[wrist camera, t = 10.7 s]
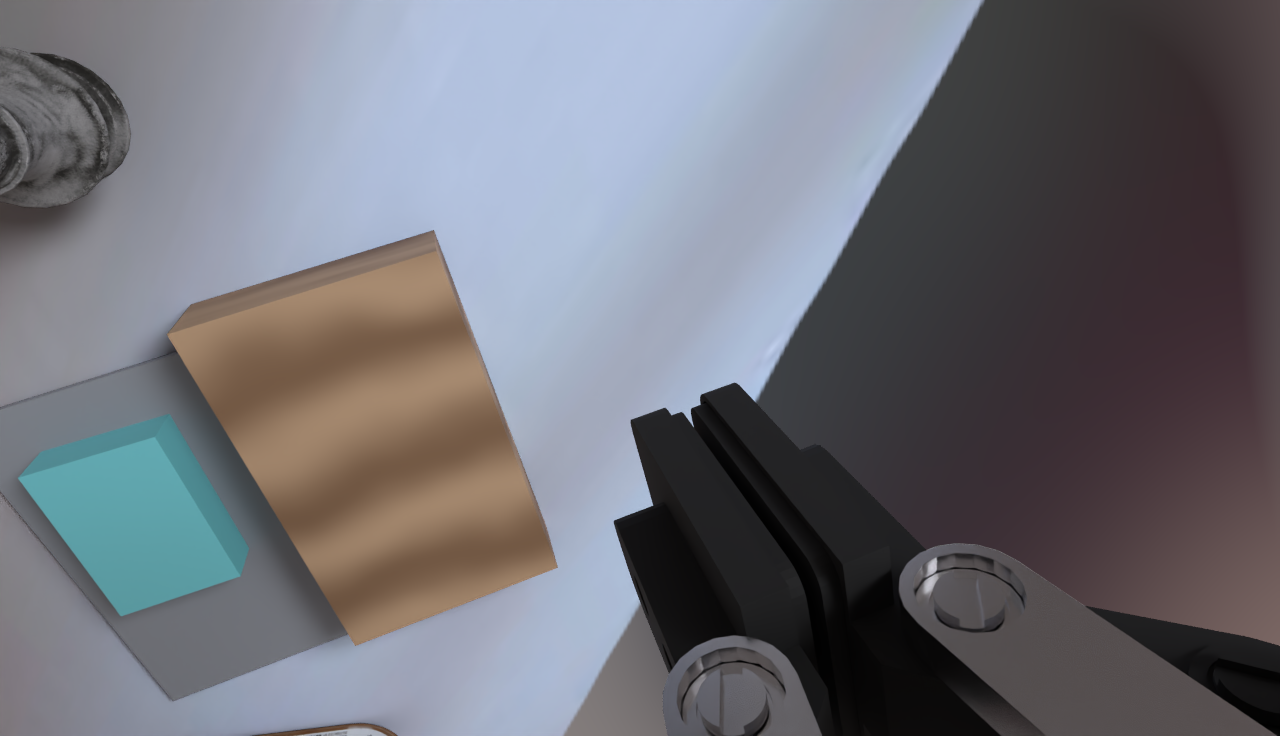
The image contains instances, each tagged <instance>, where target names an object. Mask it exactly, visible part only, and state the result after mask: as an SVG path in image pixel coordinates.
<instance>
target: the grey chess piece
mask: <svg viewBox="0 0 1280 736" xmlns="http://www.w3.org/2000/svg"><path fill="white" fill-rule="evenodd" d="M130 137H131V131H130V125H129V120H128V116H127V114H126V112H125V109H124V107H123V105H122V103H121V101H120V99H119V98H118V97H117V95H116V94H115V93H114V91H113V90H112V89H111V88H110V86H109V85H108V84H107V83H106V82H104V81H103V80H102V79H101V78H100V77H99V76H97V75H96V74H95V73H94V72H93V71H91V70H89V69H87V68H86V67H84V66H82V65H80V64H78V63H77V62H75V61H73V60H69V59H66V58H63V57H60V56H57V55H53V54H42V53H27V52H24V51H20V50H17V49H14V48H6V47H0V201H1V202H5V203H9V204H13V205H17V206H21V207H36V208H49V207H54V206H59V205H64V204H69V203H71V202H73V201H74V200H76V199H78V198H80V197H82V196H84V195H86V194H88V193H89V192H90V191H91V190H92V189H93V188H94V187H95V186H96V185H97V184H98V183H99V182H100V181H101V179H102V178H104V177H106V176H108V175H110V174H111V173H112V172H113V171H114V170H116V169H117V168H118V167H119V166H120V165H121V164H122V162H123V160H124V158H125V156H126V154H127V152H128V150H129V145H130Z"/></svg>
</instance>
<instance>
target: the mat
mask: <svg viewBox="0 0 1280 736" xmlns="http://www.w3.org/2000/svg"><path fill="white" fill-rule="evenodd" d="M167 414H170V415H171V417H172V419H173V421H174V422H175V424H176V426H177V427H178V429H179V431H180V432H181V434H182V436H183V437H184V439H185V441H186V442H187V444H188V446H189V448H190V449H191V451H192V453H193V454H194V456H195V458H196V459H197V461H198V463H199V464H200V466H201V468H202V469H203V471H204V473H205V475H206V476H207V478H208V480H209V481H210V483H211V485H212V486H213V488H214V490H215V491H216V493H217V495H218V496H219V498H220V500H221V501H222V503H223V505H224V507H225V508H226V510H227V512H228V513H229V515H230V517H231V518H232V520H233V522H234V523H235V525H236V527H237V528H238V530H239V532H240V534H241V535H242V537H243V539H244V540H245V542H246V544H247V545H248V547H249V551H248V554H247V557H246V560H245V564H244V567H243V570H242V573H241V576H240V577H237V578H234V579H231V580H228V581H225V582H222V583H219V584H216V585H213V586H210V587H207V588H204V589H201V590H198V591H195V592H192V593H189V594H186V595H183V596H180V597H178V598H175V599H172V600H169V601H166V602H163V603H160V604H157V605H154V606H151V607H148V608H145V609H142V610H139V611H136V612H133V613H130V614H127V615H124V616H120V615H119V613H118V612H117V610H116V609H115V608H114V606H113V605H112V604H111V602H110V601H109V600H108V598H107V597H106V596H105V594H104V593H103V592H102V590H101V589H100V588H99V586H98V585H97V584H96V582H95V581H94V580H93V578H92V577H91V576H90V574H89V573H88V572H87V570H86V569H85V568H84V566H83V565H82V564H81V562H80V561H79V560H78V558H77V557H76V555H75V554H74V553H73V551H72V550H71V549H70V547H69V546H68V545H67V543H66V542H65V541H64V539H63V538H62V537H61V535H60V534H59V533H58V531H57V530H56V529H55V527H54V526H53V525H52V523H51V522H50V521H49V519H48V518H47V517H46V515H45V514H44V513H43V511H42V510H41V509H40V507H39V506H38V505H37V503H36V502H35V501H34V499H33V498H32V496H31V495H30V494H29V492H28V491H27V490H26V488H25V487H24V486H23V484H22V483H21V482H20V480H19V479H18V477H19V476H20V475H21V474H22V473H23V472H24V470H25V469H26V468H27V467H28V466H29V465H30V464H31V462H32V461H33V460H34V459H35V458H36V457H37V456H38V455H39V453H40V452H42V451H45V450H49V449H52V448H55V447H59V446H62V445H65V444H69V443H72V442H76V441H79V440H82V439H86V438H89V437H93V436H96V435H99V434H103V433H106V432H109V431H113V430H116V429H120V428H123V427H126V426H130V425H133V424H136V423H140V422H143V421H147V420H150V419H153V418H157V417H160V416H164V415H167ZM0 492H1V493H2V494H3V495H4V496H5V498H6V499H7V500H8V501H9V502H10V504H11V505H12V506H13V507H14V509H15V510H16V511H17V512H18V513H19V515H20V516H21V517H22V518H23V519H24V521H25V522H26V523H27V524H28V526H29V527H30V528H31V529H32V530H33V532H34V533H35V534H36V535H37V536H38V538H39V539H40V540H41V541H42V543H43V544H44V545H45V546H46V547H47V549H48V550H49V551H50V552H51V553H52V555H53V556H54V557H55V558H56V560H57V561H58V562H59V563H60V564H61V566H62V567H63V568H64V569H65V570H66V572H67V573H68V574H69V575H70V577H71V578H72V579H73V580H74V581H75V583H76V584H77V585H78V586H79V588H80V589H81V590H82V591H83V592H84V594H85V595H86V596H87V597H88V598H89V600H90V601H91V602H92V603H93V605H94V606H95V607H96V608H97V609H98V611H99V612H100V613H101V614H102V615H103V617H104V618H105V619H106V620H107V622H108V623H109V624H110V625H111V626H112V628H113V629H114V630H115V631H116V632H117V634H118V635H119V636H120V637H121V639H122V640H123V641H124V642H125V643H126V645H127V646H128V647H129V648H130V649H131V651H132V652H133V653H134V654H135V656H136V657H137V658H138V659H139V660H140V662H141V663H142V664H143V665H144V666H145V668H146V669H147V670H148V671H149V673H150V674H151V675H152V676H153V677H154V679H155V680H156V681H157V682H158V684H159V685H160V686H161V687H162V688H163V690H164V691H165V692H166V693H167V694H168V696H169V697H170V698H171V699H172V701H175V700H177V699H180V698H183V697H185V696H188V695H190V694H193V693H196V692H198V691H201V690H203V689H206V688H209V687H211V686H214V685H217V684H219V683H222V682H224V681H227V680H230V679H232V678H235V677H237V676H240V675H243V674H245V673H248V672H250V671H253V670H256V669H258V668H261V667H263V666H266V665H269V664H271V663H274V662H276V661H279V660H282V659H284V658H287V657H290V656H292V655H295V654H297V653H300V652H303V651H305V650H308V649H310V648H313V647H316V646H318V645H321V644H323V643H326V642H329V641H331V640H334V639H336V638H339V637H342V636H344V635H347V634H348V633H347V631H346V630H345V628H344V626H343V625H342V623H341V621H340V620H339V618H338V616H337V615H336V613H335V611H334V610H333V608H332V606H331V605H330V603H329V601H328V600H327V598H326V597H325V595H324V593H323V592H322V590H321V588H320V587H319V585H318V583H317V582H316V580H315V578H314V577H313V575H312V573H311V572H310V570H309V568H308V567H307V565H306V563H305V562H304V560H303V559H302V557H301V555H300V554H299V552H298V550H297V549H296V547H295V545H294V544H293V542H292V540H291V539H290V537H289V535H288V534H287V532H286V530H285V529H284V527H283V525H282V524H281V522H280V521H279V519H278V517H277V516H276V514H275V512H274V511H273V509H272V507H271V506H270V504H269V502H268V501H267V499H266V497H265V496H264V494H263V492H262V491H261V489H260V487H259V486H258V484H257V483H256V481H255V479H254V478H253V476H252V474H251V473H250V471H249V469H248V468H247V466H246V464H245V463H244V461H243V459H242V458H241V456H240V454H239V453H238V451H237V449H236V448H235V446H234V445H233V443H232V441H231V440H230V438H229V436H228V435H227V433H226V431H225V430H224V428H223V426H222V425H221V423H220V421H219V420H218V418H217V416H216V415H215V413H214V411H213V410H212V408H211V407H210V405H209V403H208V402H207V400H206V398H205V397H204V395H203V393H202V392H201V390H200V388H199V387H198V385H197V383H196V382H195V380H194V378H193V377H192V375H191V373H190V372H189V370H188V369H187V367H186V365H185V364H184V362H183V360H182V359H181V357H180V355H179V354H178V352H174V353H171V354H168V355H165V356H162V357H158V358H155V359H152V360H149V361H146V362H143V363H139V364H136V365H133V366H130V367H127V368H123V369H120V370H117V371H114V372H111V373H108V374H104V375H101V376H98V377H95V378H92V379H88V380H85V381H82V382H79V383H76V384H73V385H69V386H66V387H63V388H60V389H57V390H54V391H50V392H47V393H44V394H41V395H38V396H34V397H31V398H28V399H25V400H22V401H19V402H15V403H12V404H9V405H6V406H3V407H0Z"/></svg>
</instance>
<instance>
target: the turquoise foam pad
mask: <svg viewBox="0 0 1280 736" xmlns="http://www.w3.org/2000/svg"><path fill="white" fill-rule="evenodd" d="M18 479H19V480H20V482H21V483H22V484H23V486H24V487H25V488H26V490H27V491H28V492H29V494H30V495H31V496H32V498H33V499H34V501H35V502H36V503H37V505H38V506H39V507H40V509H41V510H42V511H43V513H44V514H45V515H46V517H47V518H48V519H49V521H50V522H51V523H52V525H53V526H54V527H55V529H56V530H57V531H58V533H59V534H60V535H61V537H62V538H63V539H64V541H65V542H66V543H67V545H68V546H69V547H70V549H71V550H72V551H73V553H74V554H75V555H76V557H77V558H78V560H79V561H80V562H81V564H82V565H83V566H84V568H85V569H86V570H87V572H88V573H89V574H90V576H91V577H92V578H93V580H94V581H95V582H96V584H97V585H98V586H99V588H100V589H101V590H102V592H103V593H104V594H105V596H106V597H107V598H108V600H109V601H110V602H111V604H112V605H113V606H114V608H115V609H116V610H117V612H118V613H119V615H120V616H124V615H127V614H130V613H133V612H136V611H139V610H142V609H145V608H148V607H151V606H154V605H157V604H160V603H163V602H166V601H169V600H172V599H175V598H178V597H180V596H183V595H186V594H189V593H192V592H195V591H198V590H201V589H204V588H207V587H210V586H213V585H216V584H219V583H222V582H225V581H228V580H231V579H234V578H237V577H240V576H241V573H242V570H243V567H244V564H245V560H246V557H247V554H248V551H249V547H248V545H247V544H246V542H245V540H244V539H243V537H242V535H241V534H240V532H239V530H238V528H237V527H236V525H235V523H234V522H233V520H232V518H231V517H230V515H229V513H228V512H227V510H226V508H225V507H224V505H223V503H222V501H221V500H220V498H219V496H218V495H217V493H216V491H215V490H214V488H213V486H212V485H211V483H210V481H209V480H208V478H207V476H206V475H205V473H204V471H203V469H202V468H201V466H200V464H199V463H198V461H197V459H196V458H195V456H194V454H193V453H192V451H191V449H190V448H189V446H188V444H187V442H186V441H185V439H184V437H183V436H182V434H181V432H180V431H179V429H178V427H177V426H176V424H175V422H174V421H173V419H172V417H171V415H170V414H167V415H164V416H160V417H157V418H153V419H150V420H147V421H143V422H140V423H136V424H133V425H130V426H126V427H123V428H120V429H116V430H113V431H109V432H106V433H103V434H99V435H96V436H93V437H89V438H86V439H82V440H79V441H76V442H72V443H69V444H65V445H62V446H59V447H55V448H52V449H49V450H45V451H42V452H40V453H39V455H38V456H37V457H36V458H35V459H34V460H33V461H32V462H31V464H30V465H29V466H28V467H27V468H26V469H25V470H24V472H23V473H22V474H21V475H20V476H19V477H18Z"/></svg>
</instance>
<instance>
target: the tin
mask: <svg viewBox="0 0 1280 736" xmlns="http://www.w3.org/2000/svg"><path fill="white" fill-rule="evenodd" d="M254 736H397V735H396V734H395V733H393V732H392V731H390V730H388V729H386V728H383V727H380V726H377V725H372V724H359V723H358V724H346V725H338V726H330V727H321V728H313V729H304V730H296V731H288V732H279V733H271V734H263V735H254Z"/></svg>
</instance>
